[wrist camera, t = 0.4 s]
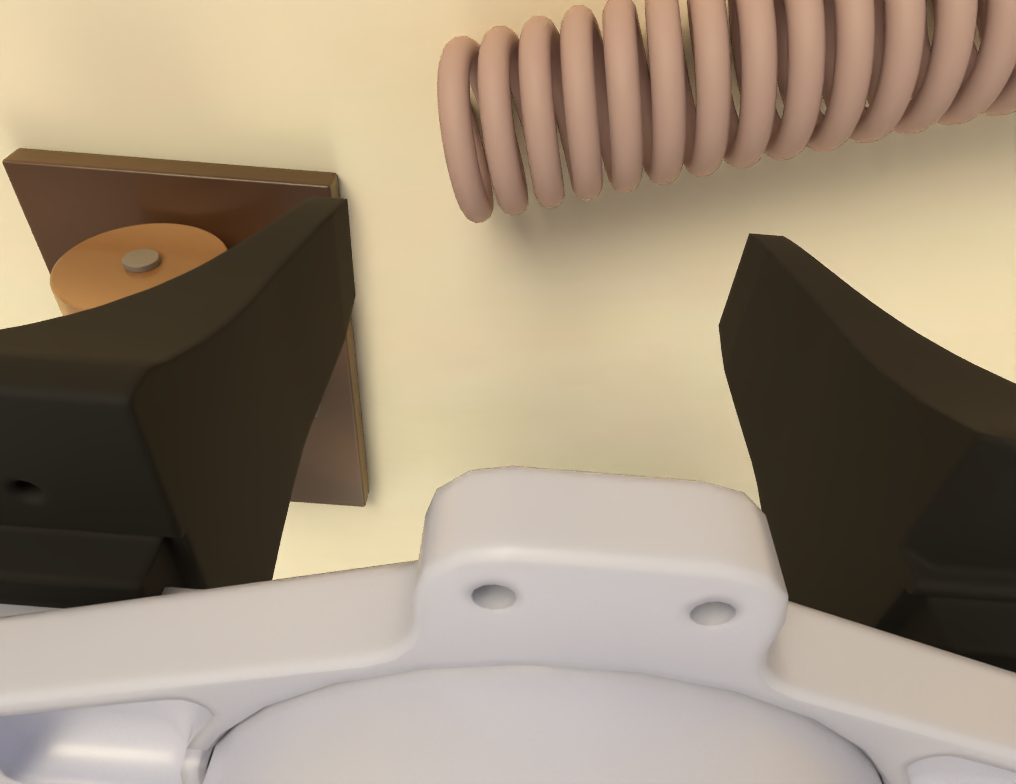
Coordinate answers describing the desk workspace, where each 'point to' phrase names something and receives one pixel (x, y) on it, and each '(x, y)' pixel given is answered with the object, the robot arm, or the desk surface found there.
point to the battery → (128, 263)
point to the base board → (229, 216)
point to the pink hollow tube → (708, 89)
